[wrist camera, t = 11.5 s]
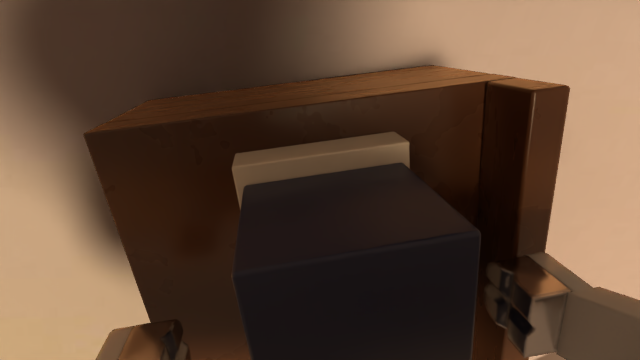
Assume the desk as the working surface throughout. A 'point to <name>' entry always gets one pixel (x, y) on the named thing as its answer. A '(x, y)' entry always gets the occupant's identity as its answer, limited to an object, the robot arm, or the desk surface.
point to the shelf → (309, 127)
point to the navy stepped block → (351, 255)
